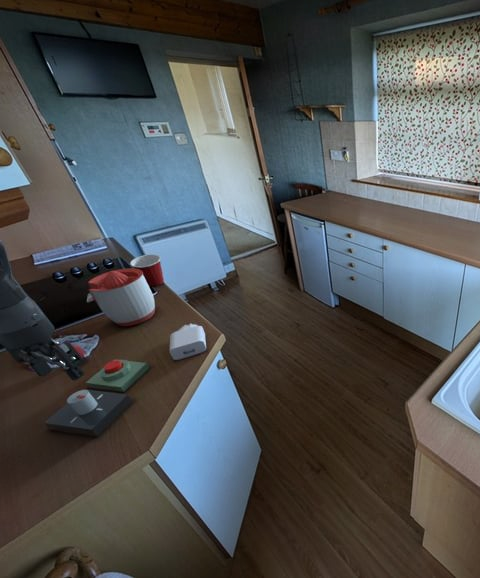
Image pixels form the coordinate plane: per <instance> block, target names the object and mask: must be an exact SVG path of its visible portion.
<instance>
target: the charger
mask: <svg viewBox="0 0 480 578" xmlns="http://www.w3.org/2000/svg"><path fill="white" fill-rule="evenodd" d="M169 336H170V337H169V339H170V340H169V354H170V355H171V357H172V359H173V360H175V361H179V360H182V359H186V358H189V357H192V356H195V355H198V354H202V353H204V352H206V351H207V341H206V332H205V330H204V328H203V326H201V325H198V324H194V323H193V324H192V323H191V322H190V323H189V324H184V325H183V326H182V327H180V328H179V329H178V330H176V331H174V332H172V333H171V334H170V335H169Z"/></svg>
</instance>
